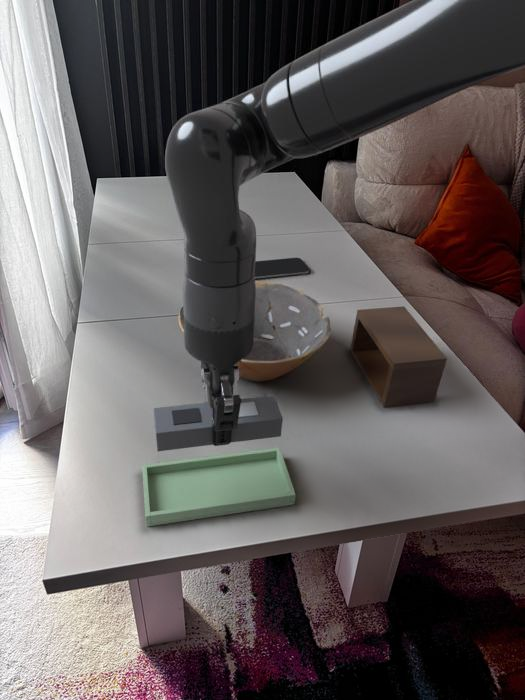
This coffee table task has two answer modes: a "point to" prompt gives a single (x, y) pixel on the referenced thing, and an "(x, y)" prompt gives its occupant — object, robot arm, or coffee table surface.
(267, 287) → the bowl
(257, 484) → the tray
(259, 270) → the smartphone
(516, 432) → the coffee table surface
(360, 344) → the brown wooden open box
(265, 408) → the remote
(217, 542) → the coffee table surface
